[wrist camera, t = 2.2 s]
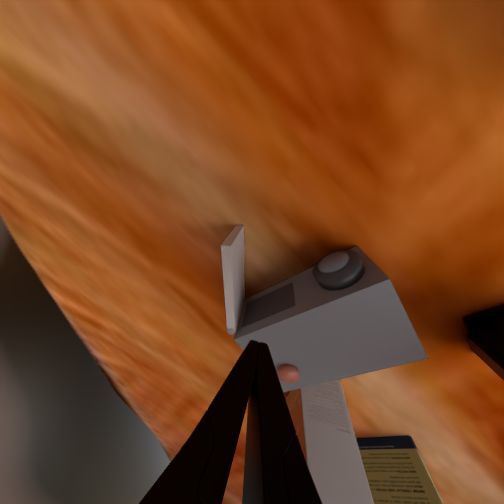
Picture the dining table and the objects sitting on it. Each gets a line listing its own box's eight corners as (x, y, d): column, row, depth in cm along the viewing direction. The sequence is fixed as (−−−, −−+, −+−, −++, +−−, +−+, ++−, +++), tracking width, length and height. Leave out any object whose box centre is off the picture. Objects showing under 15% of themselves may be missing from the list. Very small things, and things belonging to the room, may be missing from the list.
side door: (234, 225, 19) (218, 245, 14) (244, 225, 19) (231, 246, 14) (237, 298, 23) (226, 333, 18) (245, 298, 23) (235, 335, 18)
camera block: (350, 233, 18) (386, 266, 12) (389, 308, 21) (433, 365, 15) (237, 290, 22) (222, 334, 17) (281, 344, 25) (282, 398, 19)
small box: (297, 368, 27) (311, 521, 15) (340, 378, 27) (387, 543, 15) (285, 397, 31) (288, 540, 19) (322, 407, 30) (349, 558, 19)
